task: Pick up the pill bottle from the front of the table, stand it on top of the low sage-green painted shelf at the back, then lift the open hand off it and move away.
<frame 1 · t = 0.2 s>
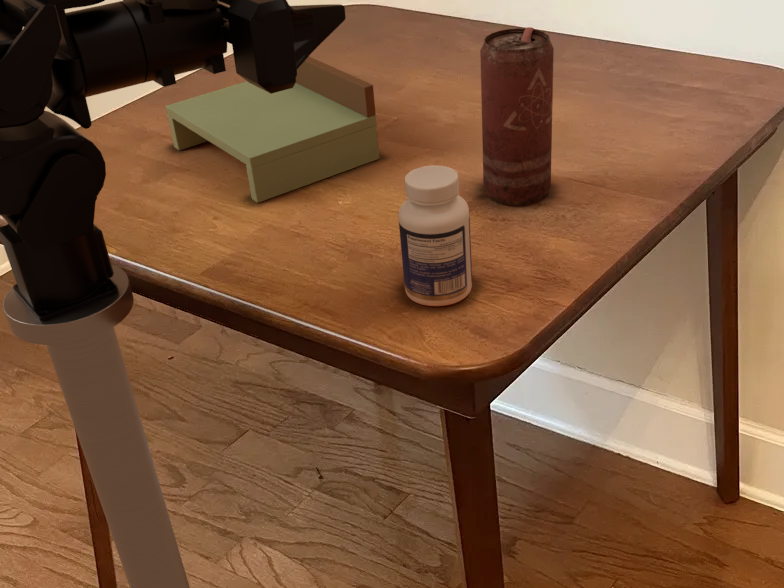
hand: (313, 0, 81), 19 cm above the table, tool horizontal, fingers open, 9 cm apart
shelf: (274, 153, 105), on the table
can: (517, 193, 94), on the table
pill bottle: (438, 292, 81), on the table
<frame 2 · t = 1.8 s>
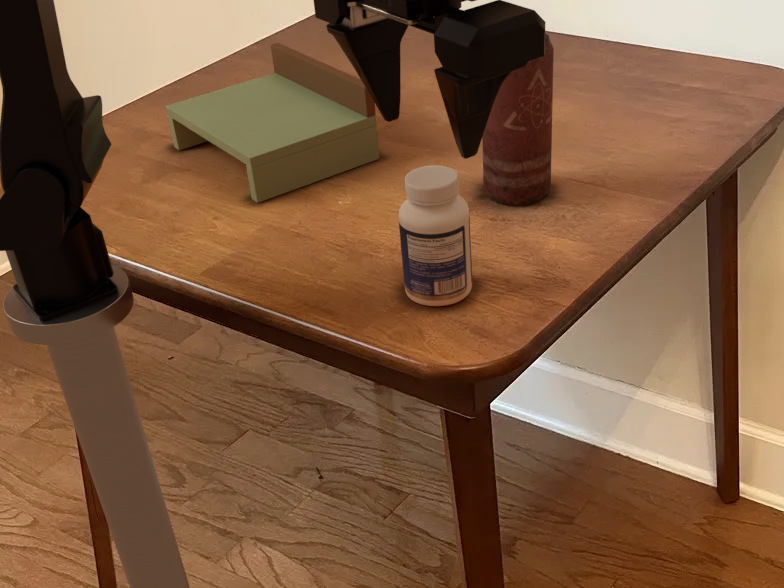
hand: (429, 137, 74), 13 cm above the table, tool pointing down, fingers open, 9 cm apart
nothing on the table moved.
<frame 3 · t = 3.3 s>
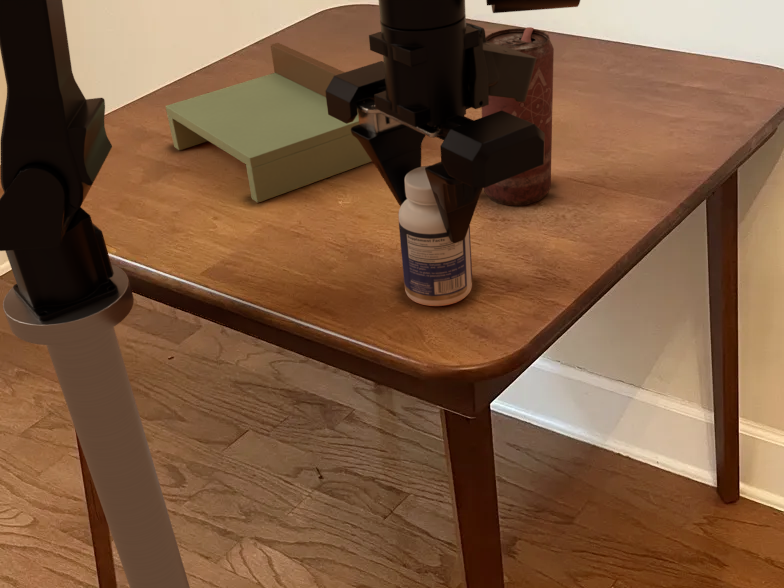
hand: (435, 227, 78), 6 cm above the table, tool pointing down, fingers closed on pill bottle, 5 cm apart
pill bottle: (438, 292, 81), on the table, touching gripper
everything else where it was.
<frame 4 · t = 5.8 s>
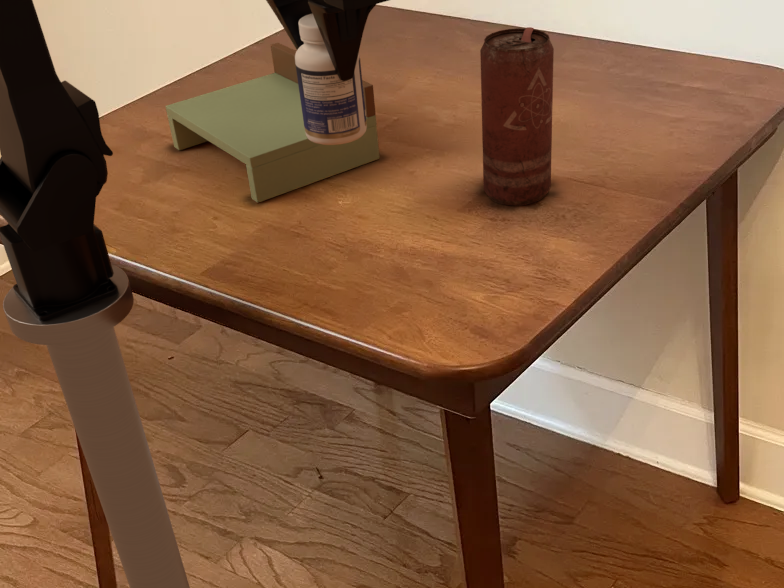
hand: (328, 70, 85), 13 cm above the table, tool pointing down, fingers closed on pill bottle, 5 cm apart
pill bottle: (336, 136, 89), point 7 cm above the table, touching gripper
everything else where it was.
when the fingers open (10 cm above the table, at t = 8.3 s): pill bottle stays where it is, resting on shelf.
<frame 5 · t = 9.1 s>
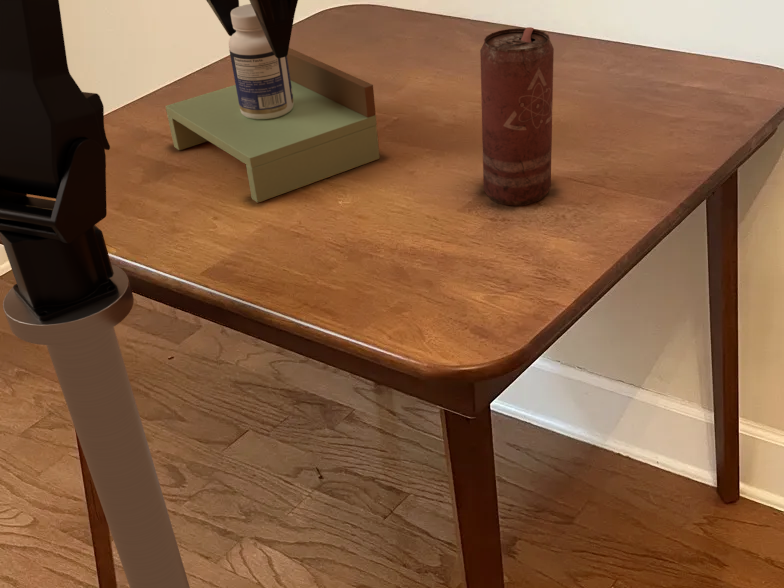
hand: (257, 45, 98), 11 cm above the table, tool pointing down, fingers open, 9 cm apart
pill bottle: (267, 112, 102), point 4 cm above the table, touching shelf
everything else where it was.
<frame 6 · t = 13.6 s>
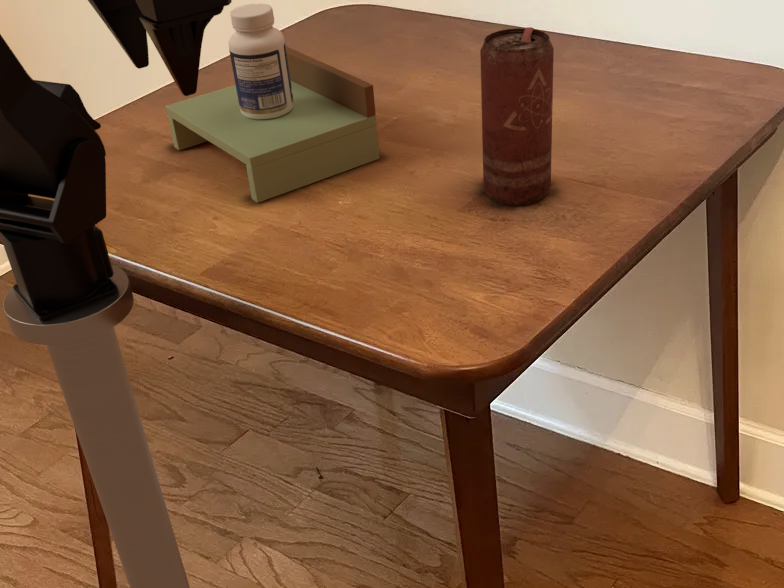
hand: (165, 80, 86), 13 cm above the table, tool pointing down, fingers open, 9 cm apart
nothing on the table moved.
at the end: pill bottle inside the target area on the shelf (0.0 cm from its centre), point 4.3 cm above the shelf's base; pill bottle tilted 0°; the gripper is holding nothing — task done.
